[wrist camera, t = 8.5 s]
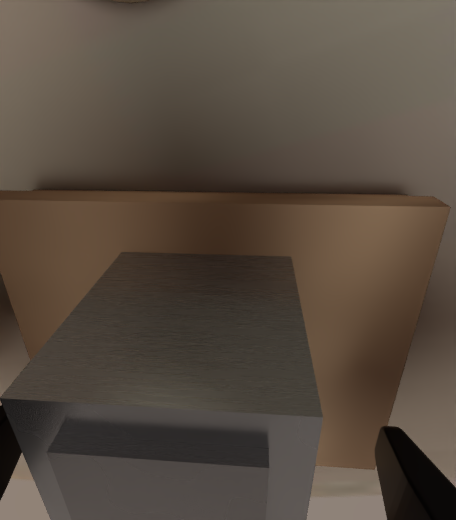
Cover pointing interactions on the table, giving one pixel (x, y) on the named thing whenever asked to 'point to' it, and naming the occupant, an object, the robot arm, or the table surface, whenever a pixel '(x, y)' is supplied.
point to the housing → (174, 395)
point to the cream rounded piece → (130, 1)
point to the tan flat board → (250, 243)
